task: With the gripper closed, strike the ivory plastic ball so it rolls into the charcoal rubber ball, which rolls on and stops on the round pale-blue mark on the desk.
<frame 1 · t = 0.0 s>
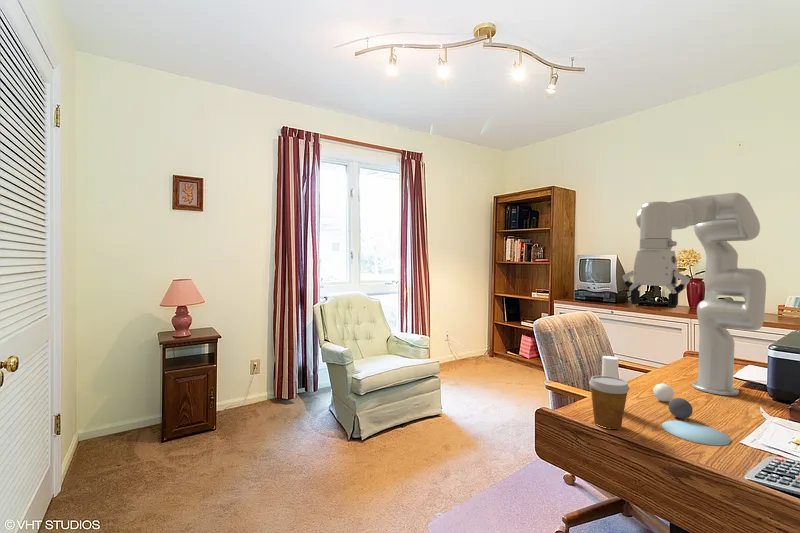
hand: (653, 305, 111), 31 cm above the table, tool pointing down, fingers open, 9 cm apart
disposable coffee cup: (607, 425, 104), on the table
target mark: (694, 432, 100), on the table
tube: (608, 408, 117), on the table
cue ball: (663, 392, 123), on the table
object ball: (680, 408, 110), on the table
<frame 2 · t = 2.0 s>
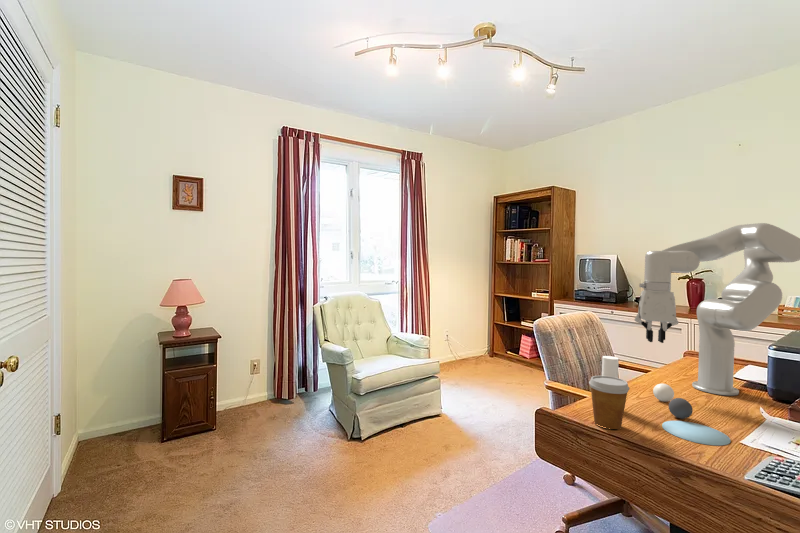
hand: (655, 341, 132), 17 cm above the table, tool pointing down, fingers closed
nothing on the table moved.
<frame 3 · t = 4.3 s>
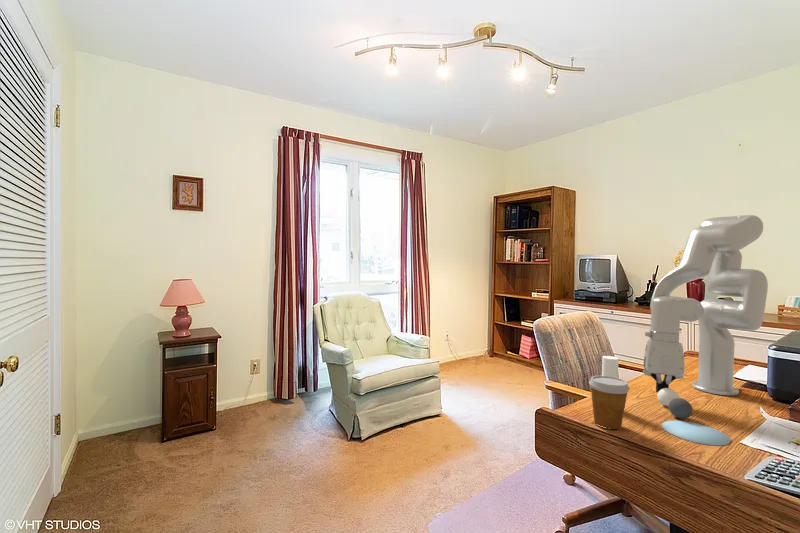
hand: (661, 395, 123), 2 cm above the table, tool pointing down, fingers closed
cue ball: (668, 397, 119), on the table
everything else where it was.
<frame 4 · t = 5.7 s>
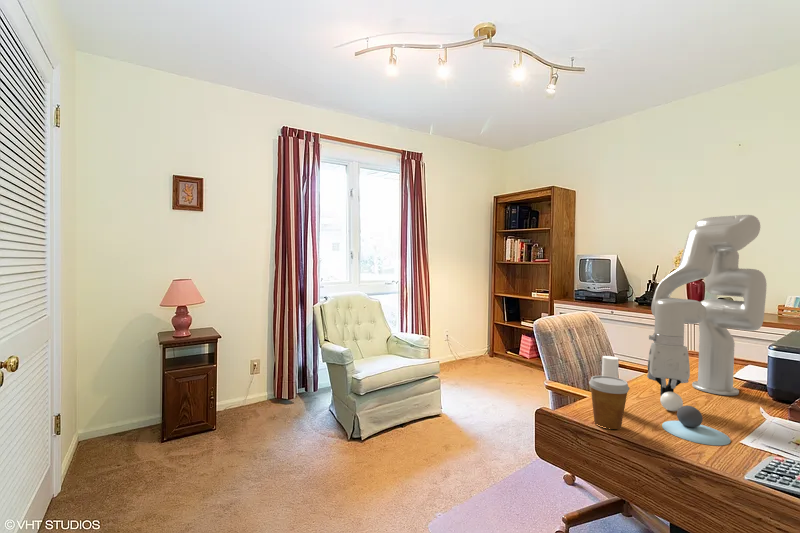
hand: (666, 399, 120), 2 cm above the table, tool pointing down, fingers closed
cue ball: (671, 401, 115), on the table
object ball: (689, 416, 104), on the table
everything else where it was.
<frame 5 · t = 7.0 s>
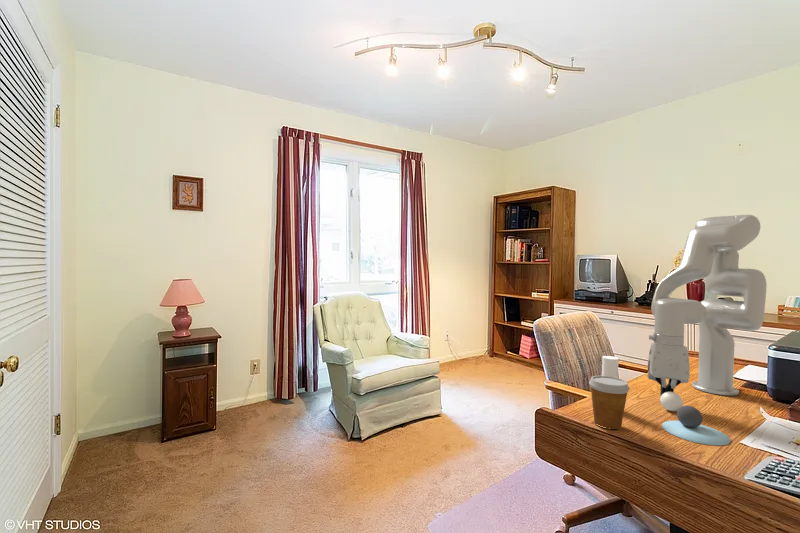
hand: (666, 399, 120), 2 cm above the table, tool pointing down, fingers closed
nothing on the table moved.
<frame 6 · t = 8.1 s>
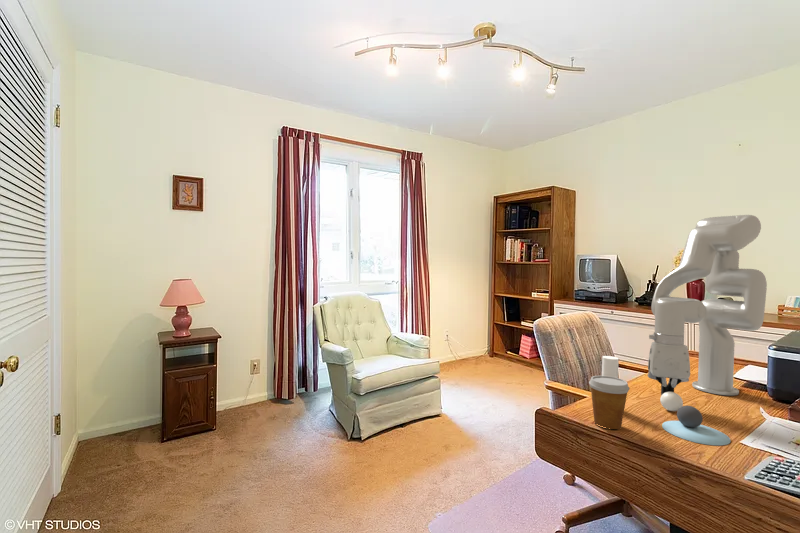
hand: (667, 398, 120), 2 cm above the table, tool pointing down, fingers closed
nothing on the table moved.
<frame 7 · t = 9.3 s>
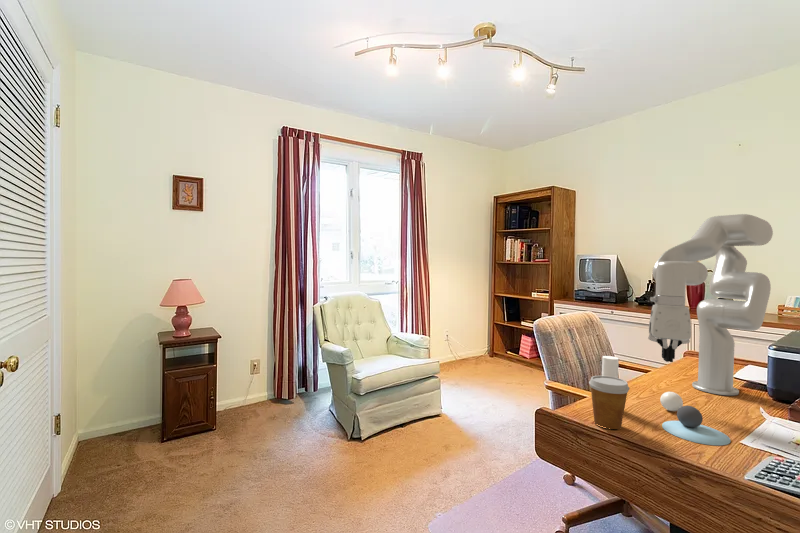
hand: (668, 360, 120), 13 cm above the table, tool pointing down, fingers closed
nothing on the table moved.
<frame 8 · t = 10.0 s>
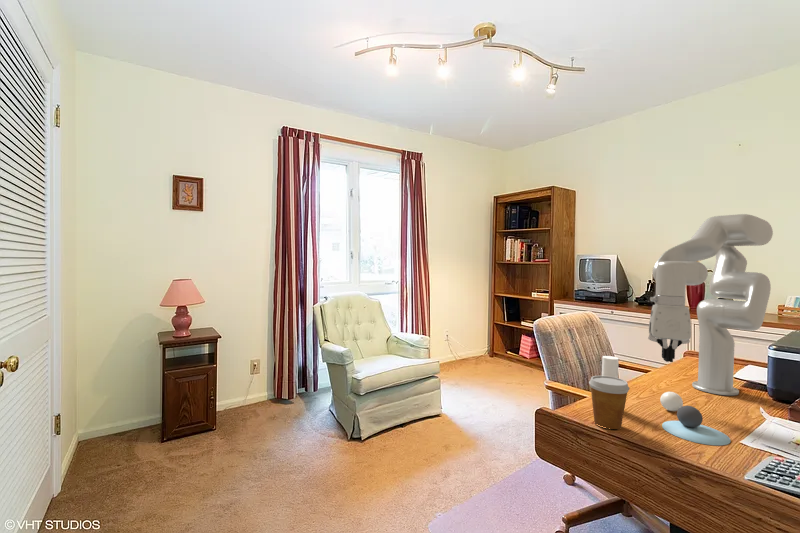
hand: (668, 360, 120), 13 cm above the table, tool pointing down, fingers closed
nothing on the table moved.
at the end: object ball 3.8 cm from the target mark (horizontally); object ball never touched the robot; cue ball first touched object ball at 4.5 s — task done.
